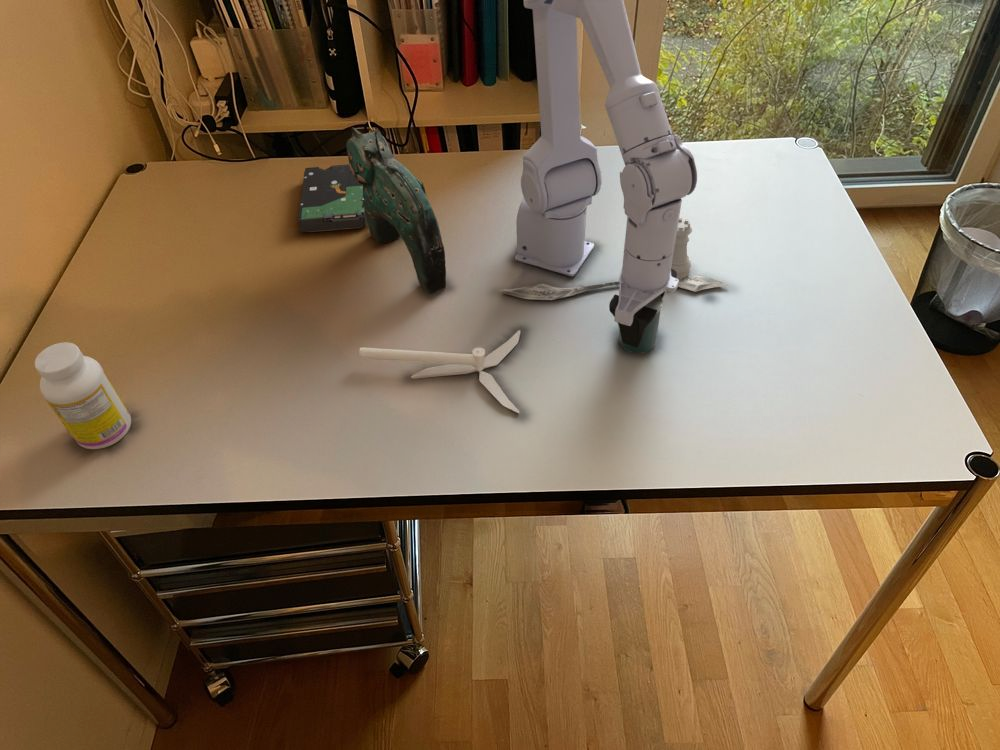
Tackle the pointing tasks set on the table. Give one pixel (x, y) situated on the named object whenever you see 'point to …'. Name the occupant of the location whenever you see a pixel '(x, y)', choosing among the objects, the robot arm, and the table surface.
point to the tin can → (647, 330)
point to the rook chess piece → (681, 250)
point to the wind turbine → (453, 364)
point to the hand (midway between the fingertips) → (638, 330)
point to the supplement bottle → (82, 396)
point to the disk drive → (331, 200)
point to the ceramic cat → (397, 206)
